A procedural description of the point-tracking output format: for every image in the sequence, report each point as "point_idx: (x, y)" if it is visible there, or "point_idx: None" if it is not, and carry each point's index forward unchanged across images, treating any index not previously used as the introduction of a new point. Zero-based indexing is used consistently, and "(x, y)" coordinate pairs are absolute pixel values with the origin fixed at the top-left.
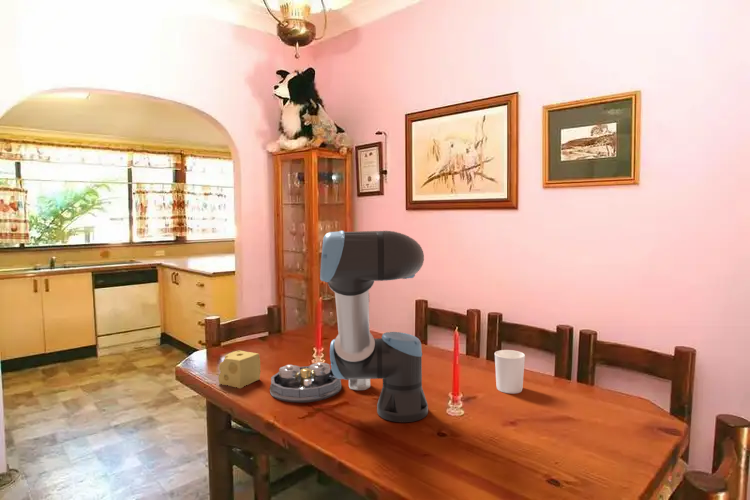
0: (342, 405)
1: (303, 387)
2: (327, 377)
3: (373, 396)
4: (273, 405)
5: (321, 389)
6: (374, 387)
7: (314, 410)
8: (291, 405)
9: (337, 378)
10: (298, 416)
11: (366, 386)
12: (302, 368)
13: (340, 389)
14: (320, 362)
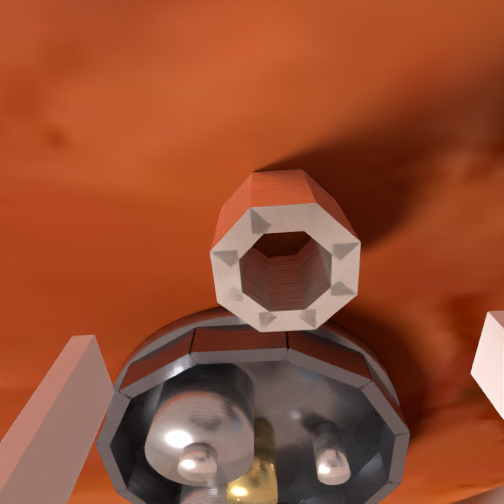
0: (483, 319)
1: (287, 441)
2: (239, 384)
3: (446, 174)
4: None
5: (401, 416)
6: (315, 145)
7: (477, 403)
8: None
9: (309, 362)
10: (500, 441)
11: (334, 200)
12: (120, 466)
13: None
14: (187, 466)
